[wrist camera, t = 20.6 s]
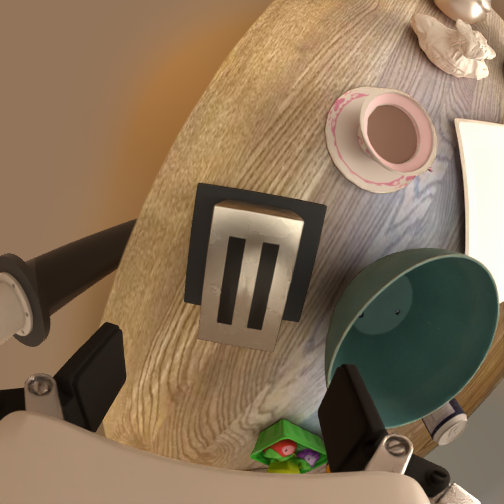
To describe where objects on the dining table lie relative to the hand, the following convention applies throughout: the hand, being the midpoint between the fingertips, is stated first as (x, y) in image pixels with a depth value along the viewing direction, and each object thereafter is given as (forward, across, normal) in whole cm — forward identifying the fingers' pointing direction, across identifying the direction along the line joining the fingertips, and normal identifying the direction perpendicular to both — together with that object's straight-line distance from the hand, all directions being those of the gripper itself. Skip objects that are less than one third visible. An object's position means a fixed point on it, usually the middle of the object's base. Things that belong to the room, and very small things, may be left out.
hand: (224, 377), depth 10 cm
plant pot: (+19, -17, +3) cm, 25 cm away
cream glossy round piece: (+19, -23, -42) cm, 52 cm away
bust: (+19, -20, -30) cm, 41 cm away
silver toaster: (+18, -1, 0) cm, 18 cm away
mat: (+19, -1, 0) cm, 19 cm away
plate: (+19, -38, -13) cm, 44 cm away
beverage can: (+19, -31, +16) cm, 39 cm away
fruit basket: (+19, -12, +29) cm, 37 cm away
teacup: (+19, -12, -15) cm, 27 cm away
